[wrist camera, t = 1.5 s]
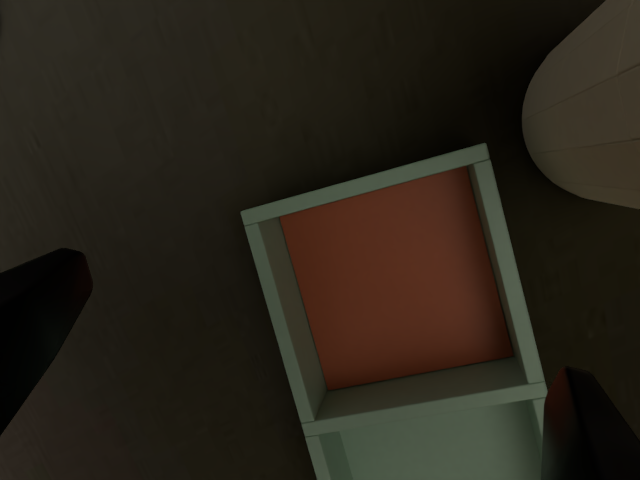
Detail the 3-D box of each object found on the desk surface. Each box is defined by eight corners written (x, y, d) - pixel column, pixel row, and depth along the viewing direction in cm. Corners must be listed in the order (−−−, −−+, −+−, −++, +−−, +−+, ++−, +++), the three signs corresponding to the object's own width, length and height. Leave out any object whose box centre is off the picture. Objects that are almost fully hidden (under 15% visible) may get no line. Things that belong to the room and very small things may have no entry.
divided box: (576, 549, 23) (603, 617, 20) (370, 570, 25) (361, 634, 22) (476, 146, 22) (486, 142, 18) (267, 204, 24) (239, 211, 20)
